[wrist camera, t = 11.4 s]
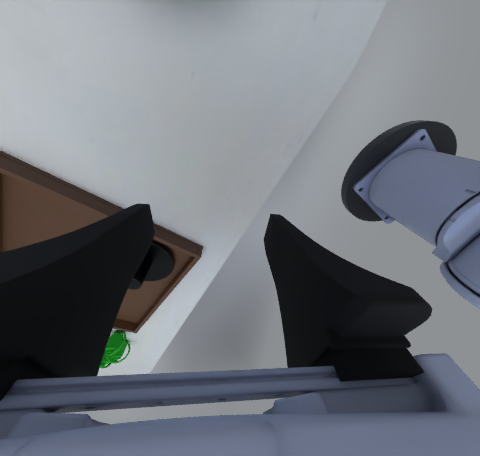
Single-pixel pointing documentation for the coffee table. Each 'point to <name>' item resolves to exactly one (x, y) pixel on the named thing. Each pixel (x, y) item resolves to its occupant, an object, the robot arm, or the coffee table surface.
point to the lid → (153, 266)
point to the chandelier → (114, 349)
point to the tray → (75, 217)
